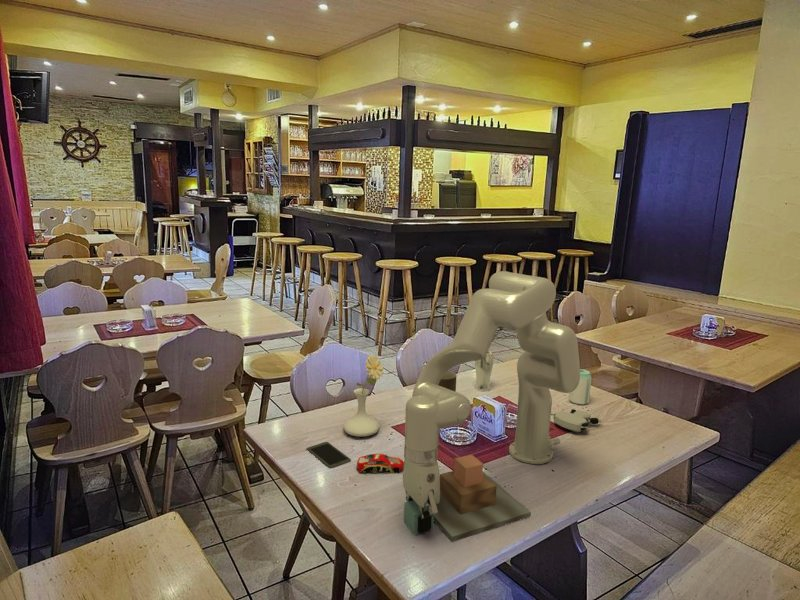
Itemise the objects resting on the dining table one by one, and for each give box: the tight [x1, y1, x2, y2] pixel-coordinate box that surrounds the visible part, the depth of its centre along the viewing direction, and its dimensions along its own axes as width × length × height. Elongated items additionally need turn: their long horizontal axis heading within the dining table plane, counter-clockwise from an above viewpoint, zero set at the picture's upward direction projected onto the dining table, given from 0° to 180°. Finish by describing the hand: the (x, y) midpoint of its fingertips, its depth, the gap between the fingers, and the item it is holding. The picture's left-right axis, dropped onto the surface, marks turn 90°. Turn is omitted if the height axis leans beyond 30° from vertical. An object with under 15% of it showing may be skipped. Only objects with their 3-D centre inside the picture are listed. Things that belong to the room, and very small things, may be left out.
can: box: [568, 368, 592, 406], centre depth 190 cm, size 7×7×12 cm
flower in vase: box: [342, 354, 384, 438], centre depth 161 cm, size 13×11×25 cm
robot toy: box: [551, 409, 603, 433], centre depth 171 cm, size 12×4×15 cm
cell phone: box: [306, 441, 352, 469], centre depth 148 cm, size 7×14×1 cm, turn 39°
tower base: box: [434, 470, 532, 542], centre depth 127 cm, size 22×22×6 cm
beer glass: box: [474, 350, 494, 392], centre depth 201 cm, size 7×7×15 cm
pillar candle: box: [438, 370, 457, 392], centre depth 179 cm, size 10×10×15 cm
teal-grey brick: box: [403, 500, 435, 535], centre depth 118 cm, size 5×5×5 cm
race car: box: [356, 453, 404, 475], centre depth 142 cm, size 13×5×4 cm, turn 92°
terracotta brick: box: [453, 454, 484, 487], centre depth 125 cm, size 5×5×5 cm
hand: (418, 523), depth 118 cm, fingers closed on teal-grey brick, 5 cm apart
